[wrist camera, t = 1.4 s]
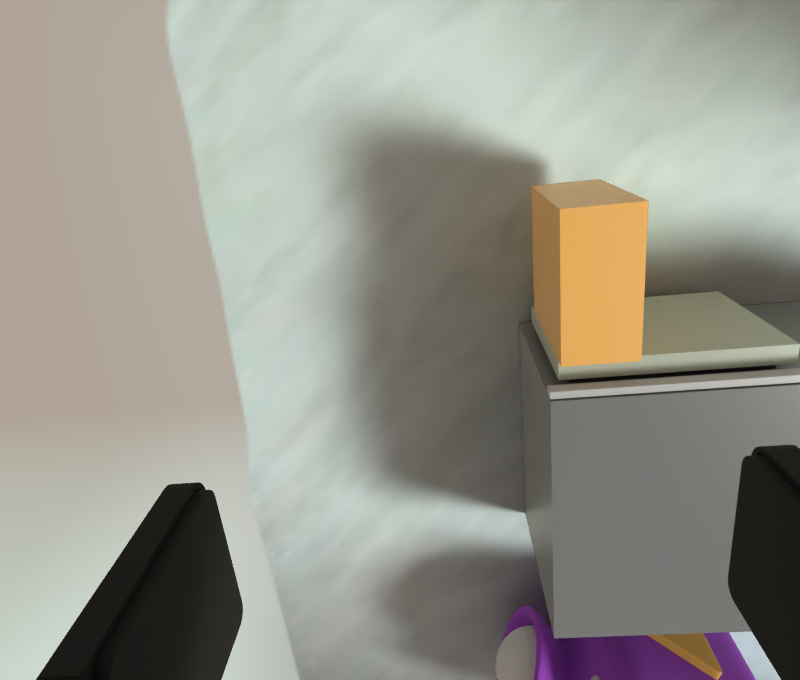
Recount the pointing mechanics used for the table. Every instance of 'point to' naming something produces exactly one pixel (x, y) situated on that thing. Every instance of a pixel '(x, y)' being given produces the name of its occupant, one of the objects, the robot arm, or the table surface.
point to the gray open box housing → (646, 486)
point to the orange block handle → (627, 296)
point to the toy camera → (614, 655)
